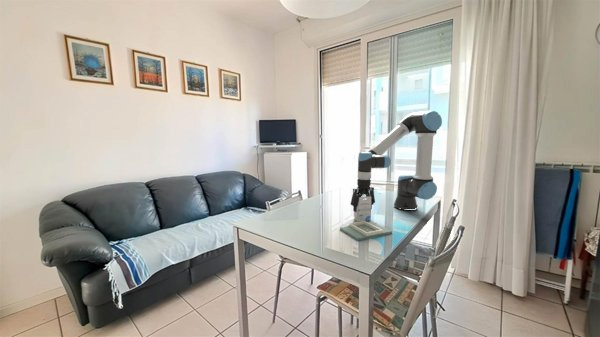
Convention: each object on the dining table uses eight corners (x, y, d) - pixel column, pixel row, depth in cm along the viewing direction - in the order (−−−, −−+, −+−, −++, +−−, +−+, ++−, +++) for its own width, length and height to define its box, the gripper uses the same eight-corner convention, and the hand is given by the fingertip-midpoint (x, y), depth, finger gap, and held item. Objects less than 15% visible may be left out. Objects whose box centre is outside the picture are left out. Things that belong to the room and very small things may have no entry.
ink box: (366, 217, 151) (367, 194, 149) (370, 220, 146) (372, 196, 144) (353, 219, 148) (354, 195, 146) (357, 221, 144) (358, 197, 142)
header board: (372, 223, 141) (372, 219, 140) (391, 233, 127) (392, 228, 127) (339, 229, 132) (340, 224, 131) (357, 240, 118) (357, 235, 118)
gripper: (374, 176, 151) (372, 211, 155) (344, 178, 142) (343, 216, 146) (383, 178, 145) (380, 215, 148) (352, 181, 136) (351, 220, 139)
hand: (362, 215), depth 147 cm, fingers closed on ink box, 9 cm apart
